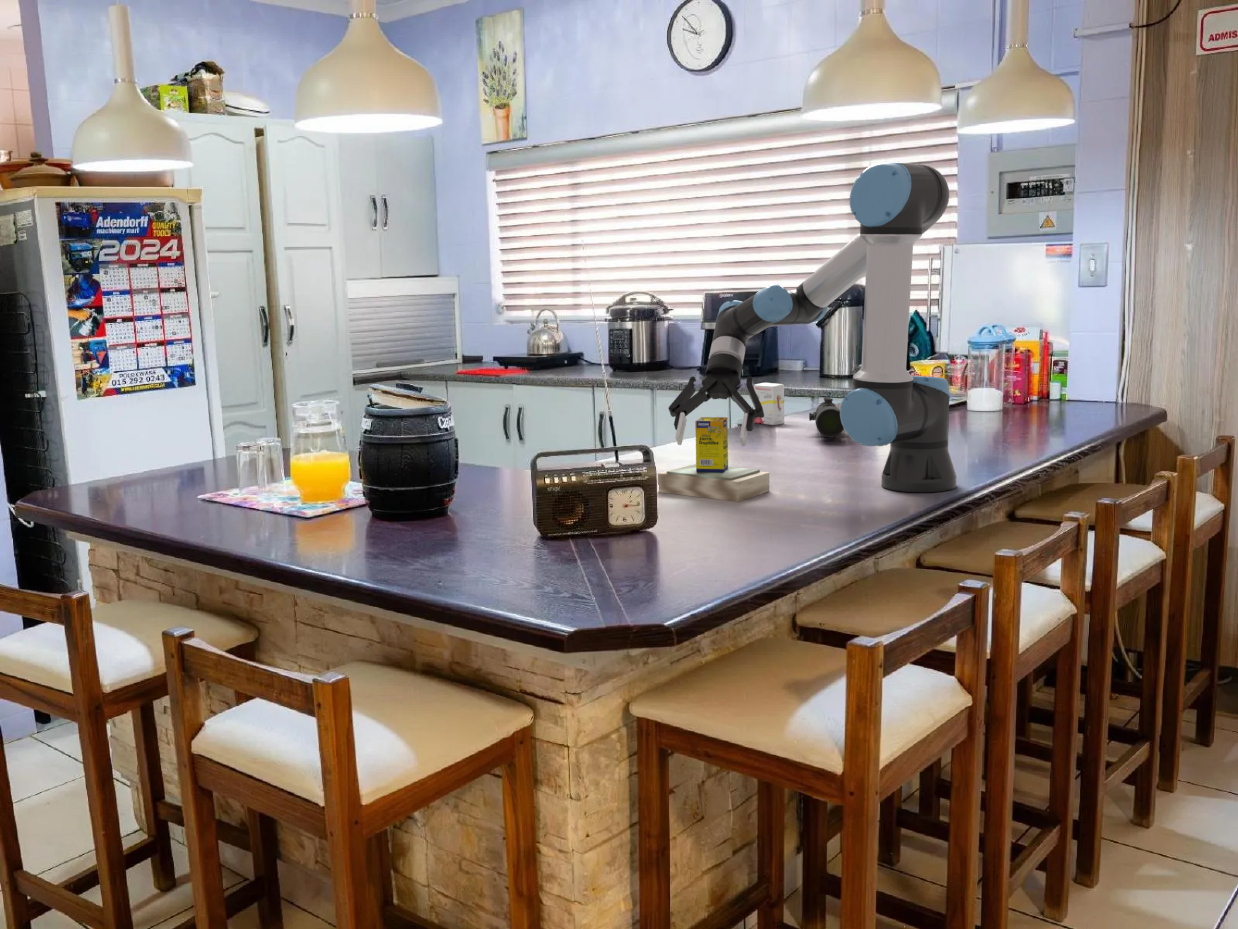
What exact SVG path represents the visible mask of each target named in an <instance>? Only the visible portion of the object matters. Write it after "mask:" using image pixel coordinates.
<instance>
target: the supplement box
mask: <svg viewBox="0 0 1238 929" xmlns="http://www.w3.org/2000/svg"><path fill="white" fill-rule="evenodd" d="M728 420H729V419H728V417H726V416H725V417H724V416H717V417H716V416H703V417H702V416H701V417H699V419H697V420H695V464H696V472H711V473H723V472H724V471H725V470H726V469H727V468H728V467H729V447H728V445H729V440H728V436H729V435H728V434H729V431H728V429H729V428H728V427H729V426H728V422H729V421H728Z"/></svg>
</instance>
